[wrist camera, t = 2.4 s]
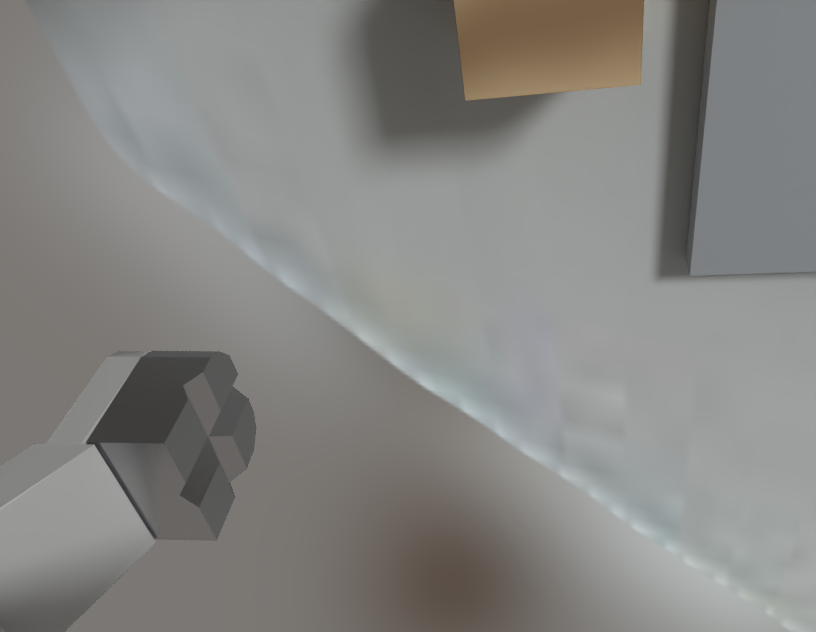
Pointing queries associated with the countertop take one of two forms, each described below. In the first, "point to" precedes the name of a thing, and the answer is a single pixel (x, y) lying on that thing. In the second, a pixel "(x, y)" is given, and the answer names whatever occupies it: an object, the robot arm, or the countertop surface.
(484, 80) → the maple block
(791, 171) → the board
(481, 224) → the countertop surface
